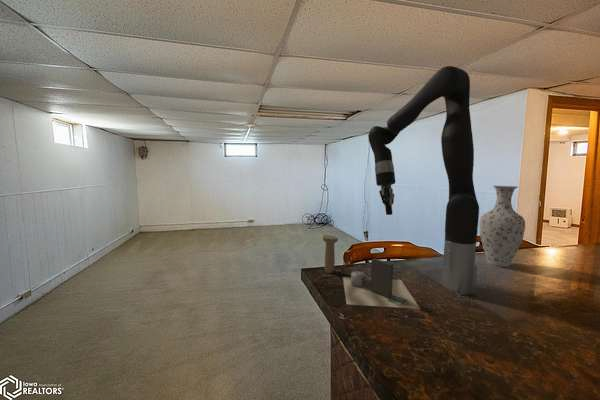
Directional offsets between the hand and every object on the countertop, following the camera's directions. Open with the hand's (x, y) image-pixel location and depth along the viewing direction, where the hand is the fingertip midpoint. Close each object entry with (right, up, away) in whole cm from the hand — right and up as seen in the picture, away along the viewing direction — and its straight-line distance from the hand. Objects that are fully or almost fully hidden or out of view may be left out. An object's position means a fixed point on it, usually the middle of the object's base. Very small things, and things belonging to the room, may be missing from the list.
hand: (389, 214), depth 109 cm
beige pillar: (-25, -24, -3) cm, 34 cm away
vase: (+52, -23, +11) cm, 58 cm away
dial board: (-11, -25, -20) cm, 34 cm away
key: (-12, -24, -21) cm, 34 cm away
